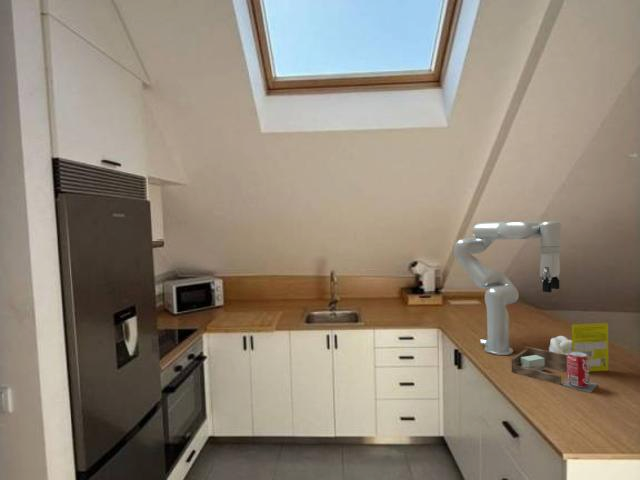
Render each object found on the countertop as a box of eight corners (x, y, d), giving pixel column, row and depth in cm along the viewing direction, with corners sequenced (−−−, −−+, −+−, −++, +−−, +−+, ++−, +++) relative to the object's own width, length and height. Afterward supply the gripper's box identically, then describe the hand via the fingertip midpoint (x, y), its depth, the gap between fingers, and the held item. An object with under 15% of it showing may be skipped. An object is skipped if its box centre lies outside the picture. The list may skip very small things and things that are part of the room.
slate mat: (562, 385, 146) (562, 384, 146) (570, 378, 152) (570, 377, 152) (590, 392, 139) (590, 391, 139) (597, 385, 145) (597, 383, 145)
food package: (607, 370, 159) (607, 322, 158) (609, 371, 158) (609, 323, 157) (571, 371, 158) (570, 324, 157) (573, 373, 157) (572, 325, 156)
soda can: (588, 383, 146) (588, 352, 145) (590, 390, 140) (590, 358, 139) (566, 379, 149) (566, 349, 149) (567, 386, 143) (567, 355, 143)
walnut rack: (511, 372, 160) (511, 355, 160) (526, 361, 171) (526, 346, 171) (560, 384, 147) (560, 366, 146) (573, 372, 157) (572, 355, 157)
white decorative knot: (575, 354, 178) (575, 335, 177) (581, 363, 167) (581, 343, 166) (547, 352, 182) (547, 333, 182) (552, 360, 171) (551, 341, 171)
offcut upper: (520, 364, 162) (520, 357, 162) (536, 361, 164) (536, 354, 164) (529, 367, 158) (528, 360, 158) (544, 365, 160) (544, 358, 160)
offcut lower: (520, 372, 161) (520, 365, 160) (531, 367, 166) (531, 360, 165) (533, 376, 156) (532, 369, 156) (544, 370, 161) (543, 363, 161)
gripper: (547, 248, 170) (548, 286, 171) (533, 251, 159) (534, 292, 160) (567, 249, 165) (567, 288, 166) (553, 252, 153) (554, 294, 154)
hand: (551, 290), depth 163 cm, fingers open, 9 cm apart
